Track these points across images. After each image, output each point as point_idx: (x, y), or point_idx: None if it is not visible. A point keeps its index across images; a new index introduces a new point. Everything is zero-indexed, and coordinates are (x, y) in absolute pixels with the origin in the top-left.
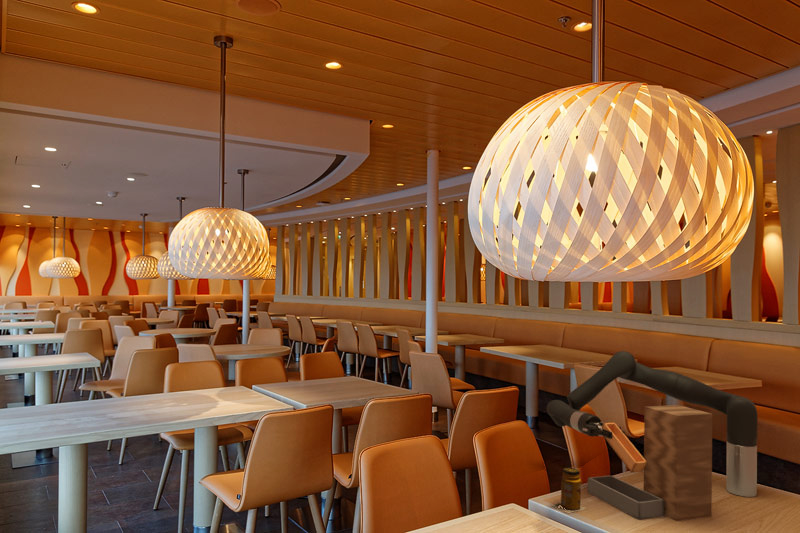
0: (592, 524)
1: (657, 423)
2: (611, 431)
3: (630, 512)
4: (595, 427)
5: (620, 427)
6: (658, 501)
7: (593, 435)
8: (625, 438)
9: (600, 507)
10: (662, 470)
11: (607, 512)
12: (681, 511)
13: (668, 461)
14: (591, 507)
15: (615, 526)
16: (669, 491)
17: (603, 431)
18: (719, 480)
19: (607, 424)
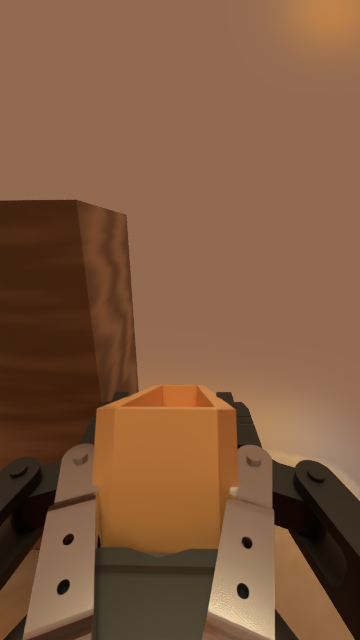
0: (343, 473)
1: (109, 261)
2: (212, 397)
3: None
4: (282, 621)
5: (16, 463)
6: None
7: (334, 543)
8: (148, 395)
9: (285, 574)
10: (127, 388)
11: (277, 526)
12: None
13: (129, 350)
14: (321, 585)
15: (289, 454)
16: None
17: (255, 439)
18: None
19: (198, 411)
